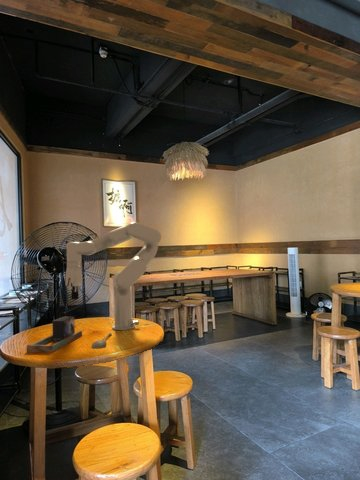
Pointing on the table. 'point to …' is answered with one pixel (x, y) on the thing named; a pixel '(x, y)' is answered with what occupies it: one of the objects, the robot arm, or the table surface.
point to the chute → (43, 348)
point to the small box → (63, 328)
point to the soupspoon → (100, 343)
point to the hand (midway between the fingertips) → (74, 299)
